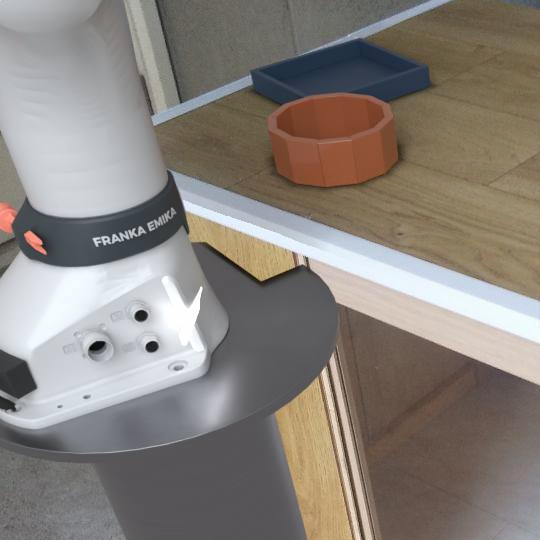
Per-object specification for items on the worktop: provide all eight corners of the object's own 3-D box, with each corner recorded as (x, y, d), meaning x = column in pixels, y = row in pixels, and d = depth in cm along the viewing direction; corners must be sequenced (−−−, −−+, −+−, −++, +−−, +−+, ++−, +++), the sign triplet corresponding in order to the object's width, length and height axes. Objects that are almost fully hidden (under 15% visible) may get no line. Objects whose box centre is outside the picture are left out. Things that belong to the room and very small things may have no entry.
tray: (319, 124, 123) (315, 103, 121) (254, 90, 131) (249, 70, 129) (430, 86, 131) (428, 66, 129) (362, 57, 140) (360, 37, 138)
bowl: (320, 198, 109) (312, 153, 105) (254, 159, 116) (244, 116, 112) (421, 159, 115) (416, 116, 112) (352, 125, 123) (346, 83, 119)
